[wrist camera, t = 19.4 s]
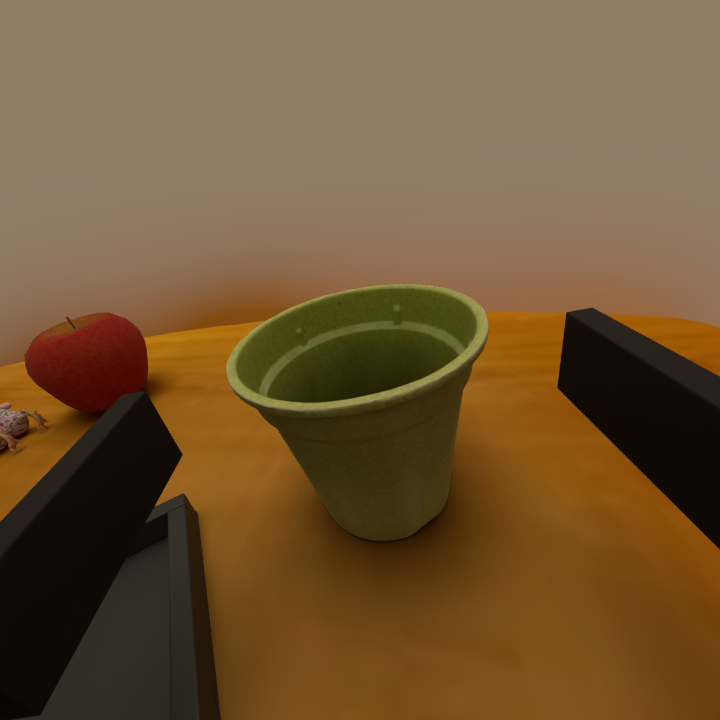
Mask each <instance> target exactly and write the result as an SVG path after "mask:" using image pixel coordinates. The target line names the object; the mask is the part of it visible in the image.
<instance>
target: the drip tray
mask: <svg viewBox="0 0 720 720" xmlns="http://www.w3.org/2000/svg"><path fill="white" fill-rule="evenodd" d="M13 720H220V711H219V702H218V693H217V684H216V676H215V667H214V658H213V649H212V640H211V631H210V622H209V613H208V604H207V595H206V586H205V577H204V568H203V559H202V550H201V541H200V532H199V523H198V514H197V512H196V511H195V510H194V508H193V507H192V505H191V504H190V502H189V500H188V499H187V497H186V496H185V494H181V495H179V496H177V497H174V498H172V499H170V500H168V501H166V502H164V503H162V504H160V505H158V506H156V507H154V508H153V510H152V512H151V514H150V515H149V517H148V519H147V521H146V523H145V525H144V526H143V528H142V530H141V532H140V534H139V536H138V537H137V539H136V541H135V543H134V545H133V547H132V548H131V550H130V552H129V554H128V556H127V558H126V559H125V561H124V563H123V565H122V567H121V569H120V570H119V572H118V574H117V576H116V578H115V580H114V581H113V583H112V585H111V587H110V589H109V591H108V592H107V594H106V596H105V598H104V600H103V602H102V603H101V605H100V607H99V609H98V611H97V613H96V614H95V616H94V618H93V620H92V622H91V624H90V625H89V627H88V629H87V631H86V633H85V635H84V636H83V638H82V640H81V642H80V644H79V646H78V647H77V649H76V651H75V653H74V655H73V657H72V658H71V660H70V662H69V664H68V666H67V667H66V669H65V671H64V673H63V675H62V677H61V678H60V680H59V682H58V684H57V686H56V688H55V689H54V691H53V693H52V695H51V697H50V699H49V700H48V702H47V704H46V706H45V708H44V710H43V711H42V713H41V715H40V716H33V717H27V718H20V719H13Z"/></svg>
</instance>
